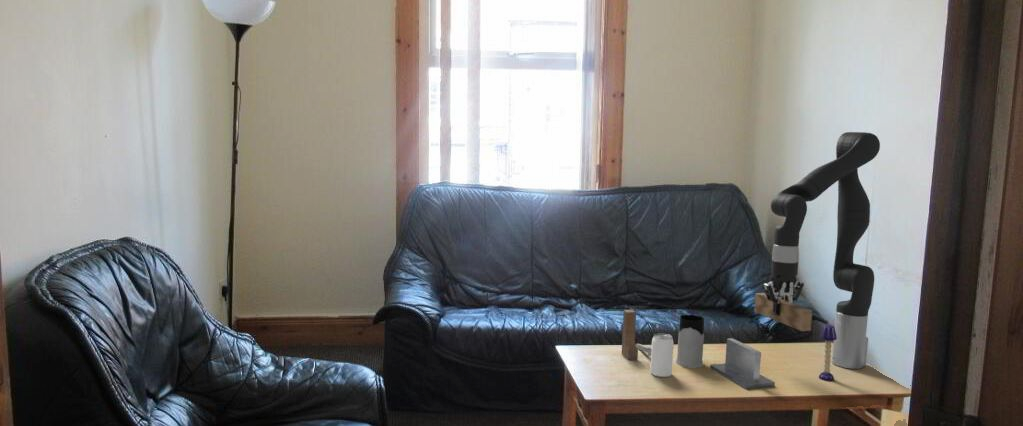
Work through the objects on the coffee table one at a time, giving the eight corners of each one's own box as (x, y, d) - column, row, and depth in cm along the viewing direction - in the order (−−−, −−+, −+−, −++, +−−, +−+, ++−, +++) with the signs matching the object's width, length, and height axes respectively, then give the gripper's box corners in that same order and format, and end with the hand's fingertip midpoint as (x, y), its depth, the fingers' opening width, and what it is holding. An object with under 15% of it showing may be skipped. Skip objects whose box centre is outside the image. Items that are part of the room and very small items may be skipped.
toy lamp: (826, 382, 204) (831, 328, 202) (813, 377, 208) (817, 324, 206) (837, 379, 206) (841, 326, 204) (823, 374, 210) (828, 322, 208)
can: (673, 372, 209) (675, 334, 207) (669, 379, 203) (671, 340, 202) (652, 369, 211) (654, 331, 210) (647, 375, 206) (650, 337, 204)
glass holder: (673, 365, 216) (676, 319, 214) (680, 352, 229) (682, 309, 227) (701, 369, 212) (704, 322, 211) (707, 356, 225) (709, 312, 224)
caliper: (657, 366, 215) (658, 347, 214) (654, 366, 215) (655, 347, 214) (637, 346, 235) (638, 328, 234) (634, 346, 235) (635, 328, 234)
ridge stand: (737, 365, 216) (739, 335, 215) (774, 386, 199) (777, 353, 198) (710, 368, 213) (712, 337, 212) (745, 389, 196) (748, 355, 195)
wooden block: (621, 353, 226) (623, 309, 224) (630, 353, 226) (632, 309, 224) (628, 360, 219) (630, 315, 217) (637, 359, 220) (640, 314, 218)
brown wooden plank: (754, 311, 218) (755, 293, 218) (762, 311, 219) (763, 292, 218) (802, 331, 197) (803, 311, 197) (810, 330, 198) (812, 310, 198)
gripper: (795, 256, 212) (792, 310, 214) (757, 258, 208) (754, 313, 210) (812, 260, 205) (808, 316, 207) (773, 262, 200) (770, 319, 203)
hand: (781, 314), depth 208 cm, fingers closed on brown wooden plank, 3 cm apart
